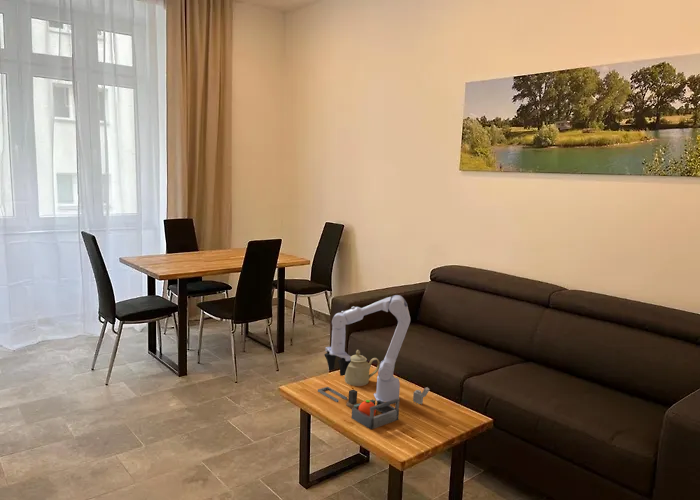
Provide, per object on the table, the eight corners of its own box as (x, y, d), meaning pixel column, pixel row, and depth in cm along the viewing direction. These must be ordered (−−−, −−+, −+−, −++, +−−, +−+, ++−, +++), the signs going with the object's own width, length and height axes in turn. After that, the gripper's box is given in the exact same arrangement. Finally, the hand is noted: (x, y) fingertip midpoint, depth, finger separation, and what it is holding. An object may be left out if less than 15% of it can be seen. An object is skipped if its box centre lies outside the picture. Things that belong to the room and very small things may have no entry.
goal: (351, 418, 209) (352, 397, 208) (378, 409, 219) (380, 389, 218) (370, 429, 201) (372, 408, 200) (398, 419, 210) (400, 399, 209)
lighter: (412, 401, 228) (413, 383, 227) (415, 400, 229) (416, 382, 228) (425, 407, 223) (427, 388, 222) (428, 406, 224) (429, 387, 223)
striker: (339, 407, 218) (340, 392, 217) (358, 401, 225) (359, 386, 224) (355, 416, 211) (356, 400, 210) (374, 410, 217) (375, 394, 216)
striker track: (317, 391, 233) (317, 389, 233) (327, 388, 237) (327, 386, 237) (337, 402, 223) (337, 400, 223) (347, 399, 227) (347, 397, 227)
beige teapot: (365, 373, 257) (367, 343, 255) (380, 381, 248) (382, 350, 246) (339, 379, 248) (341, 348, 246) (354, 388, 239) (356, 355, 237)
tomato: (357, 413, 214) (358, 395, 213) (375, 413, 214) (376, 396, 213) (358, 422, 206) (359, 404, 205) (376, 423, 207) (377, 405, 206)
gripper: (320, 338, 232) (319, 368, 234) (341, 347, 221) (340, 379, 223) (333, 335, 237) (331, 365, 238) (355, 344, 226) (353, 376, 227)
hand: (336, 372), depth 231 cm, fingers open, 7 cm apart
